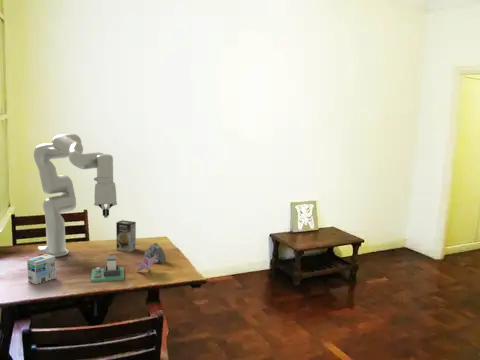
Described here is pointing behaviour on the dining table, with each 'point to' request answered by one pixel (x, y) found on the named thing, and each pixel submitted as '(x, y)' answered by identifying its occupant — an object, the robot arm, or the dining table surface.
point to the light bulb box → (41, 268)
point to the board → (107, 274)
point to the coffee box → (126, 235)
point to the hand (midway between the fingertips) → (105, 217)
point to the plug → (111, 262)
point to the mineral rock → (156, 253)
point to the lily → (146, 263)
